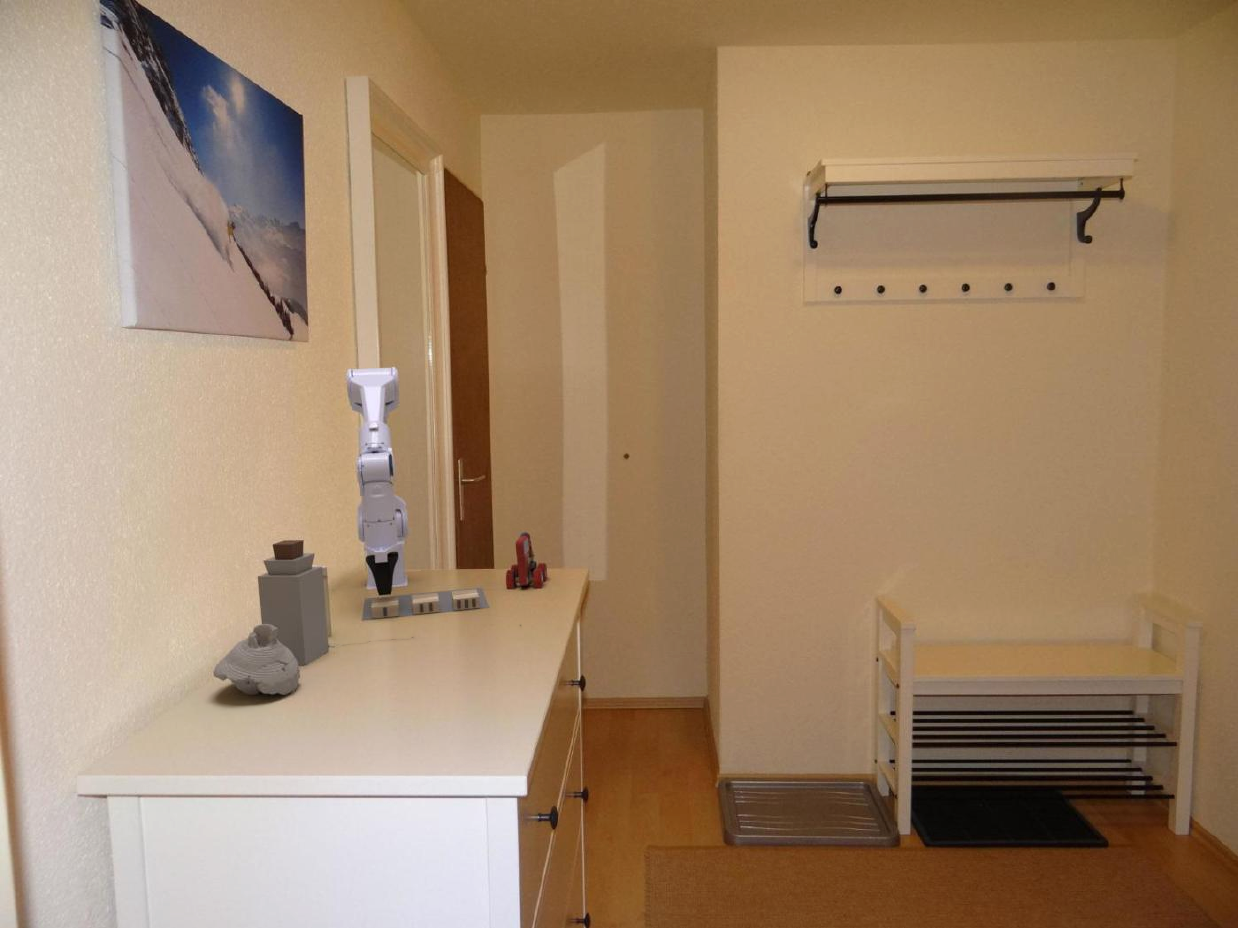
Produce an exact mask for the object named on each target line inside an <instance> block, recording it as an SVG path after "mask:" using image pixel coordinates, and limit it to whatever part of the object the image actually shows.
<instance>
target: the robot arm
mask: <svg viewBox="0 0 1238 928" xmlns="http://www.w3.org/2000/svg"><path fill="white" fill-rule="evenodd" d="M345 374H346V375H345V376H346V379H345V380H346V391H347V396H348V397H347V398H348V401H349V406H350V407H351V410H352V411H354V412H357V413H359V414H361V416H362V418H363V420H364V421H363V422H364V423H363V424H361V425H360V427H359V428H358V456H357V457H356V459H355V461H356V462H355V469H356V478H357V482H358V487H359V495H360V496H361V500H360V502H359V504H358V506H357V515H356V517H357V518H356V519H357V534H358V540H359V541H360V542H361V543H364V544H363V550H364V551H365V552H366V557H365V563H366V564H367V572H368V573H367V574H368V575H367V577H368V578H367V581H366V590H373V589H375V590H376V591H377V595H378V597H382V596H389V595H390V596H391V594H392V591H393V587H394V588H395V587H405V586H408V585H409V584H408V575H406V571H405V570H406V569H405V557H404V556H405V555H404V547H405V541H404V540H406V539H407V538H408V537H409V535H410V534H409V522H408V521H409V520H408V510H407V503H406V502H405V500H404V499H403V498H401V497H400V496H398V495H397V494H396V493H395V484H396V478H397V477H396V464H395V463H396V461H395V460H396V459H395V455H394V453H393V448H392V434H391V428H390V427H389V426H388V420H389V417H390V413H391V412H392V411H394V410H396V409H398V408H399V404H400V397H399V396H400V390H399V389H400V388H399V372H398V369H397V367H396V366H392V367H380V368H379V367H378V368H376V367H375V368H374V367H373V368H354V369H353V368H348V370H347V371H346V373H345ZM391 477H392V478H393V481H392V480H391V479H392V478H391Z"/></svg>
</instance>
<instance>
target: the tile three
mask: <svg viewBox="0 0 1238 928" xmlns="http://www.w3.org/2000/svg"><path fill="white" fill-rule="evenodd" d="M451 594H452V604H453V608H454V610H463V609H473V608H480V606H479V596H478V593H477V590H476V589H473V590H462V591H452V592H451ZM473 610H474V609H473Z"/></svg>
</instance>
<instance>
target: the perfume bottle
mask: <svg viewBox="0 0 1238 928" xmlns="http://www.w3.org/2000/svg"><path fill="white" fill-rule="evenodd" d="M272 549H273V555H274V556H272V557H269V558H267V559H264V560H263V561H262V562H263V564H264V566H265V567H264V568H265V569H266V571H267V572H265V573H263V574H260V575H258V576H257V583H258V596H259V607H260V608H259V609H260V620H261V624H269V625H273V626H274V627H276V628H277V629H278V634H277V637H276V639H277V640H278V641H279V642H280V643H281V644H282V645H284V646H285V647H287V648H288V649H289V650H290V651H291V652H292V653H293V655H294V656H295V658H296V659H297V662H298V666H307V665H309V664H310V663H311V662H312V663H313V662H314V661H315V660H317V659H319V658H320V657H321V656H324V655H325V654H327V653H328V652H329V651H330V650H329V637H328V635H327V622H326V609H325V596H324V583H323V571H322V567H312V565H314V559H315V552H314V553H313V552H304V540H303V539H302V540H301V539H296V540H295V539H294V540H293V539H290V540H289V539H286V540H285V539H284V540H281V541H279V542H275V543H273V544H272Z"/></svg>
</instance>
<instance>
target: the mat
mask: <svg viewBox="0 0 1238 928" xmlns="http://www.w3.org/2000/svg"><path fill="white" fill-rule="evenodd" d="M473 589H476V590H477V593H478V596H479V606H480V608H473V609H463V610H454V608H453V604H452V594H451V592H452V591H462V590H473ZM431 593H438V599H439V610H440V612H433V613H423V614H413V600H412V595H421V594H431ZM389 597H398V604H399V616H393V617H383V618H373V619H372V610H371V606H372V599H379V598H389ZM482 609H490V606H489V603H488V601H487V597H486V595H485V593H484V590H483V588H482V587H481V586H480V587H472V588H462V589H452V590H451V589H450V590H442V591H441V590H440V591H432V592H430V591H429V592H419V593H410V594H409V593H408V594H398V595H390V596H389V595H386V596H378V597H369V598H368V597H367V598H364V602H363V608H362V610H363V611H362V617H361V621H373V620H383V619H392V618H394V619H395V618H402V617H411V616H422V615H432V614H443V613H451V612H452V613H453V612H454V613H455V612H462V611H470V610H471V611H472V610H473V611H474V610H482Z"/></svg>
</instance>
